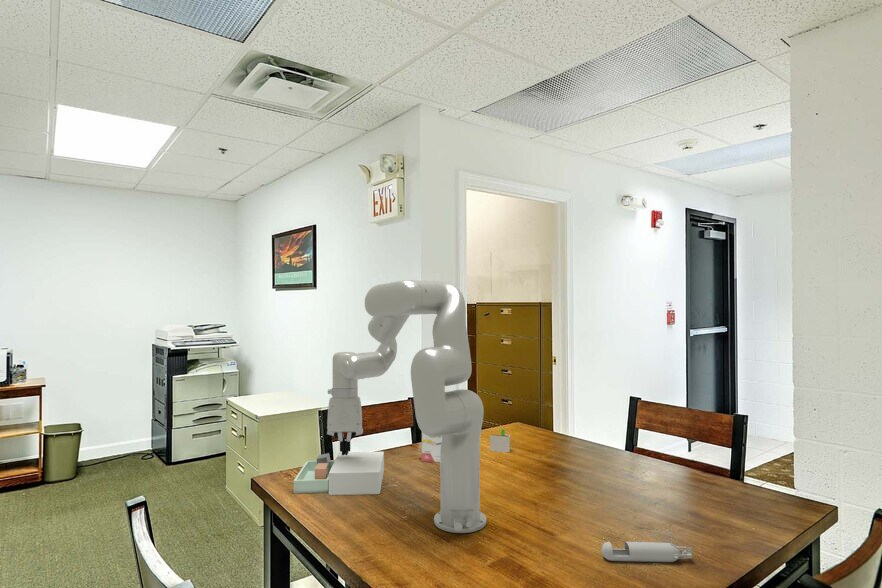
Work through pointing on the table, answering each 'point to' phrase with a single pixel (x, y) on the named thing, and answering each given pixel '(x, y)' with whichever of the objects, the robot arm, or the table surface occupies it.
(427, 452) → the ink cartridge box
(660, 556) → the slotted grey cylinder
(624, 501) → the table surface
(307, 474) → the green bin
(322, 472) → the terracotta tile
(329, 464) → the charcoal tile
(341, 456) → the white box
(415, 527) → the table surface
